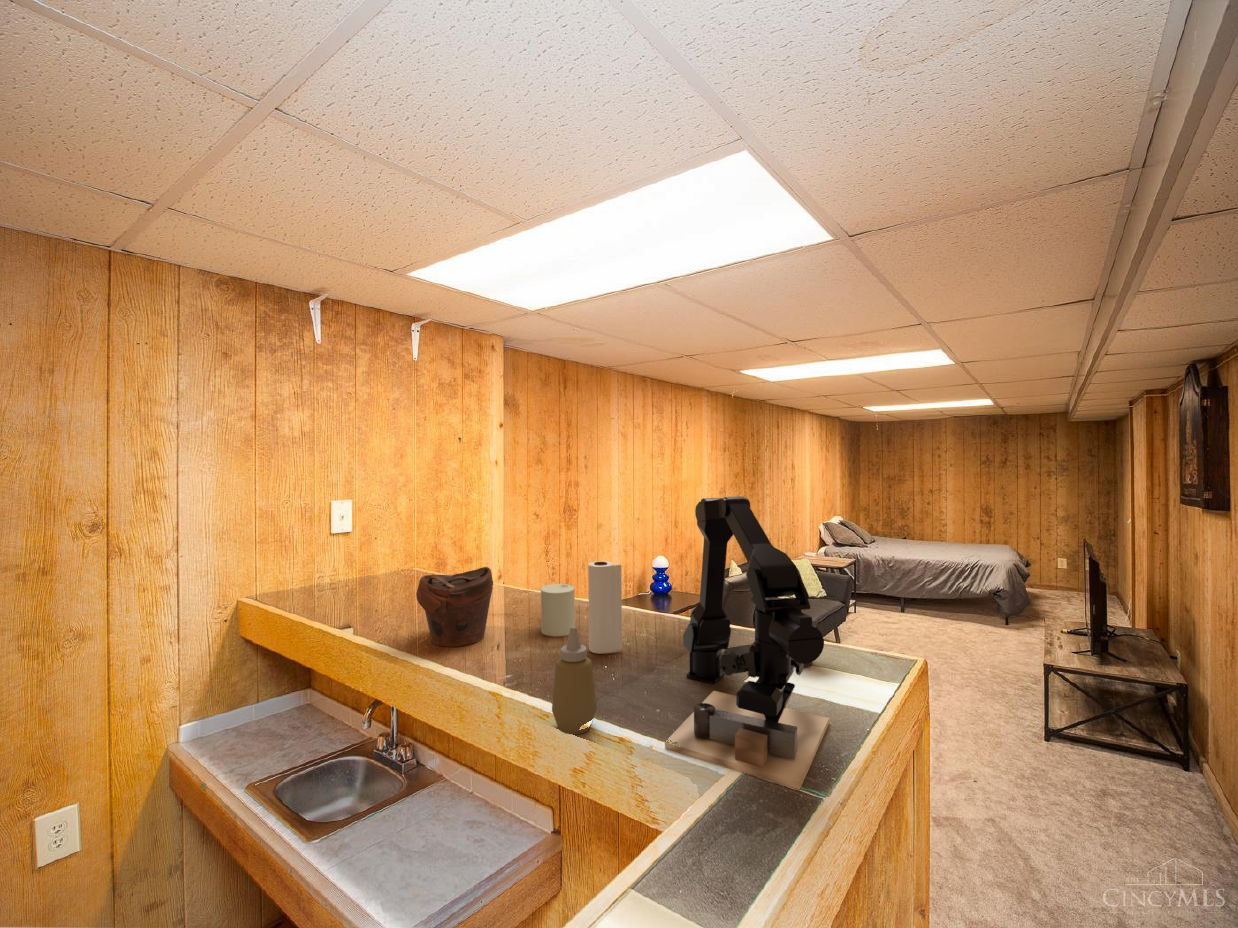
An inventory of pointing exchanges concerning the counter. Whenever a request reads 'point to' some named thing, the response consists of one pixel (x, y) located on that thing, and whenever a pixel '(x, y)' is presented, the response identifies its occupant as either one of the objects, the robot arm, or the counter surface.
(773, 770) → the tan flat square sheet
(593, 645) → the paper towel roll
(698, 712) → the swing bar
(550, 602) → the can
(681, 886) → the counter surface
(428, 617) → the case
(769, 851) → the counter surface
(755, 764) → the block
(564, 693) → the squeeze bottle
